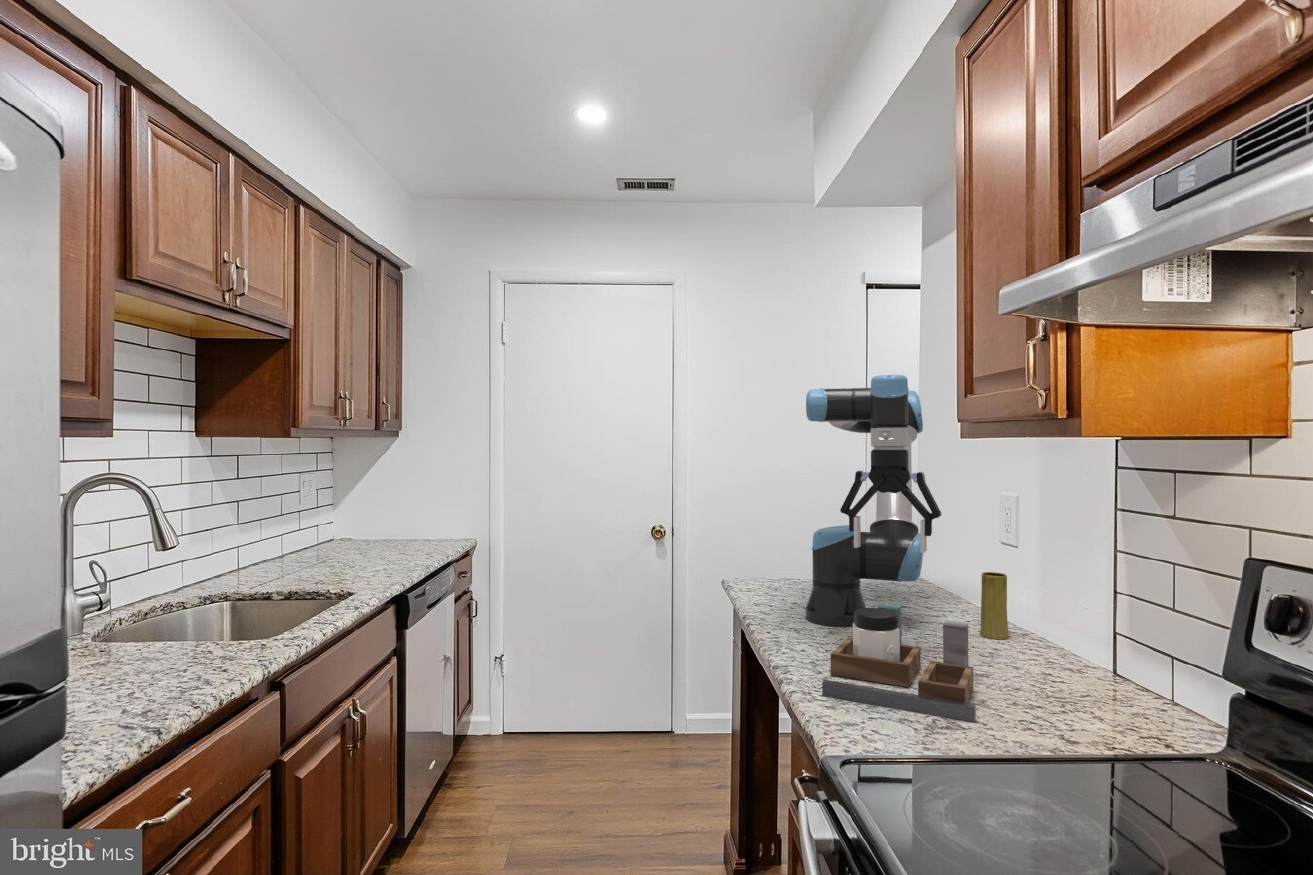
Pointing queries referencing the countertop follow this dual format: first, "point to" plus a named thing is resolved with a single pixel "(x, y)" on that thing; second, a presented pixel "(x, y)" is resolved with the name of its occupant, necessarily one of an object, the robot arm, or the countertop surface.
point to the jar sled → (877, 661)
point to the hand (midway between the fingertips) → (889, 549)
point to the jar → (876, 634)
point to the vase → (994, 606)
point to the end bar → (900, 700)
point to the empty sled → (950, 667)
